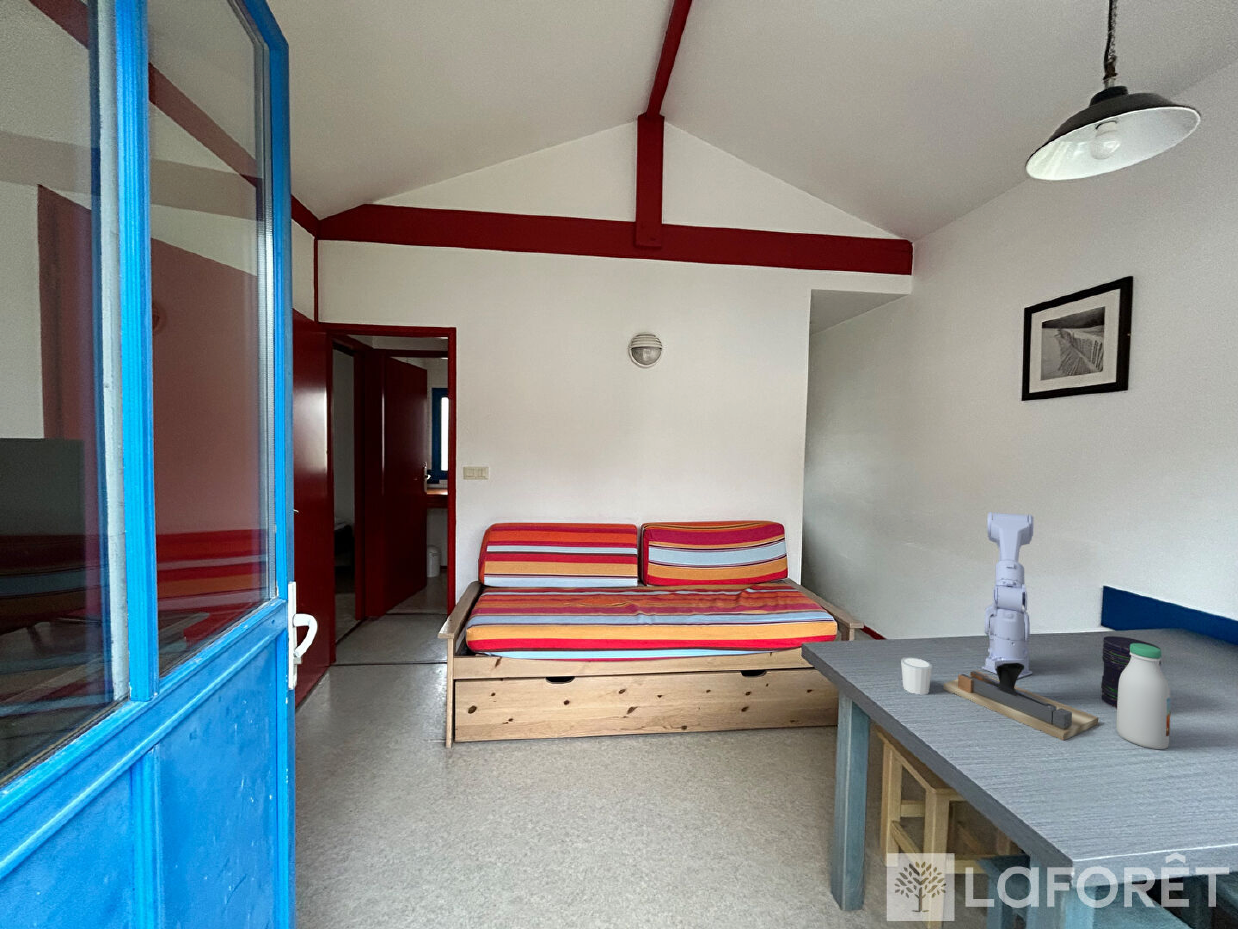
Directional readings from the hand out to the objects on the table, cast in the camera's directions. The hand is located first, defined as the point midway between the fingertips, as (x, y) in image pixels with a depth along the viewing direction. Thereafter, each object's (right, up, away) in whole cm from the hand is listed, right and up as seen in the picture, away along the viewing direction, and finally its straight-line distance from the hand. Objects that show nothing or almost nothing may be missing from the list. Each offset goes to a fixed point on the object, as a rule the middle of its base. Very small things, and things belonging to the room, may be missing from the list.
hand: (1006, 691), depth 122 cm
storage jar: (+29, -3, -1) cm, 29 cm away
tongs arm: (0, -1, -2) cm, 2 cm away
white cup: (-18, -3, +7) cm, 19 cm away
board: (+1, -3, -1) cm, 3 cm away
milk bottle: (+17, -4, -15) cm, 23 cm away
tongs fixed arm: (-2, -1, -4) cm, 5 cm away
